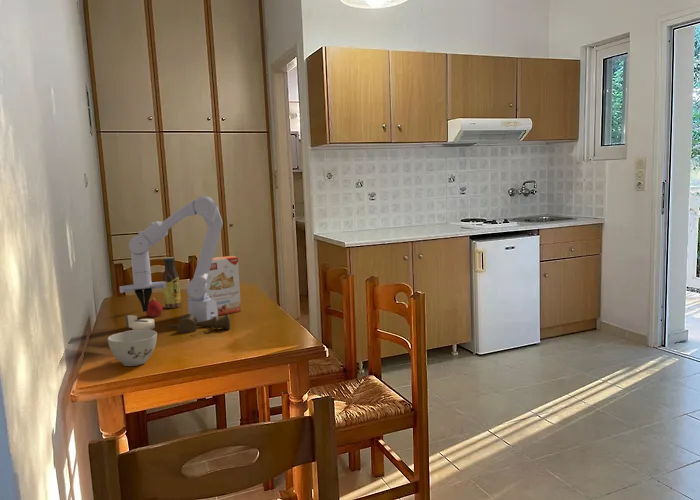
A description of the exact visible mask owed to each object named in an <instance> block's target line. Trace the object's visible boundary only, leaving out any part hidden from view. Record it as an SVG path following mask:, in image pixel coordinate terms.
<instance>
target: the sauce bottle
mask: <svg viewBox="0 0 700 500" xmlns="http://www.w3.org/2000/svg"><path fill="white" fill-rule="evenodd" d="M163 262H164V271H163V272H162V273H163V274H162V282H164V281H165V282H166V288H162V291H163V301H164V302H163V303H164V308H166V309H176V308H179V307H181V299H182V298H181V289H180V286H181V285H180V277H179V274H178V271H177V270H176V266H175V257H174V256H171V257H164V258H163Z"/></svg>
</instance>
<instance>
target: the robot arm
mask: <svg viewBox="0 0 700 500" xmlns="http://www.w3.org/2000/svg"><path fill="white" fill-rule="evenodd" d="M197 214H198V215H199V216H201V217H202V218H203V220H204V222H205V224H206V225H207V230H206V233H205V237H204V240H203V244H202V247H201V250H200V254H199V257H198V259H197V260H198V264H197V263H196V268H195V271H194V275H193V277H192V279H191V280H190V281H189V283H188V286H187V288H186V293H187V295H188V296H187V307H188V308H187V309H188V310H187V311H188V314H192V315H194V316H195V317H196V319H197V322H200V321H205V320H210V319H213V318H214V317H215V316H217V317H219V315H218V310H217V303H216V301H215V300H213V299H210V298H209V295H208V294H207V293H206V290H207V287H208V285H207V277H208V274H209V270H210V267H211V263H212V260H213V258H214V255H215V252H216V250H217V246H218V242H219V238H220V237H221V236H220V235H221V231H222V228H223V224H224V222H223V219H222V216H221V213H220V210H219V207H218V205H217V203H216V202H215V201H214V199H213V198H212V197H210V196H208V195H202V196H199V197H197V198H196V199H194V200H193V201H190V202H188V203H186V204H183V206H182V207H180V208H179V209H178V210H176V211H175V212H174V213H172V214H171V215H170V216H169V217H167V218H166V219H165V220H163V221H159V220H157V221H155V222H154V221H152V222H150V223H149V226H148V227H147V228H145V229H144V230H143V231H141V230H140V231H139V232H137V234H138V235H135V236H133V237H132V238H131V239H130V240H129V243H128V249H129V251H130V255H131V259H130V260H131V261H130V262H131V268H132V269H131V270H132V279H133V283H132V284H127V285H119V293H120V294H122V293H128V292H129V293H130V292H134V293H135V295H136V297H137V298H138V301H139V303H140V305H141V309H142V312H145V313H146V311H148V303H149V302H150V299H151V296H152V294H153V290H154V289H155V290H156V289H163V288H166V282H165V281H164V282H163V281H152V272H151V261H150V255H149V254H150V253H149V249H150V247H151V246H152V247H153V246H154V245H156V244H157V243H159V242H160V241H161V240H162V239H164V238H166V236H168V235H169V229H171V228H172V227H173V226H175V225H176V224H178V223H179V222H181V221H182V220H184V219H185V218H187V217H189V216H191V217H192V216H195V215H197Z"/></svg>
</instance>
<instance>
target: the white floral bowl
mask: <svg viewBox="0 0 700 500" xmlns="http://www.w3.org/2000/svg"><path fill="white" fill-rule="evenodd" d="M157 339H158V332H157V331H155V330H153V329H151V330H141V331H139V330H125V331H123V332H118V333H113V334H111V335H109V336H108V337H107V344H108V346H109V350H110V351H111V353H112V355H113V356H114V357H115V359H116V360H118V361H119V363H121V364H123V366H125V367H136V366H139V365H144V364H145V363H146V362H147V361H148V360H149V358H150V357H151V356H152V354H153V353H154V351H155V347H156V345H157Z"/></svg>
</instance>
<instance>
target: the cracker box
mask: <svg viewBox="0 0 700 500" xmlns="http://www.w3.org/2000/svg"><path fill="white" fill-rule="evenodd" d="M198 260H199V259H196V265H197V264H198ZM239 272H240V271H239V259H238V256H235V255H229V256H228V255H227V256H218V257H213V260H212V263H211V267H210V270H209V274H208V277H207V285H208V287H207V290H206V293H207V294H208V295H209V298H210V299H213V300H215V301H216V303H217V310H218V316H221V315H227V314H228V315H229V314H232V313H239V312H242V307H241V290H240V289H241V288H240V273H239Z"/></svg>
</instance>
